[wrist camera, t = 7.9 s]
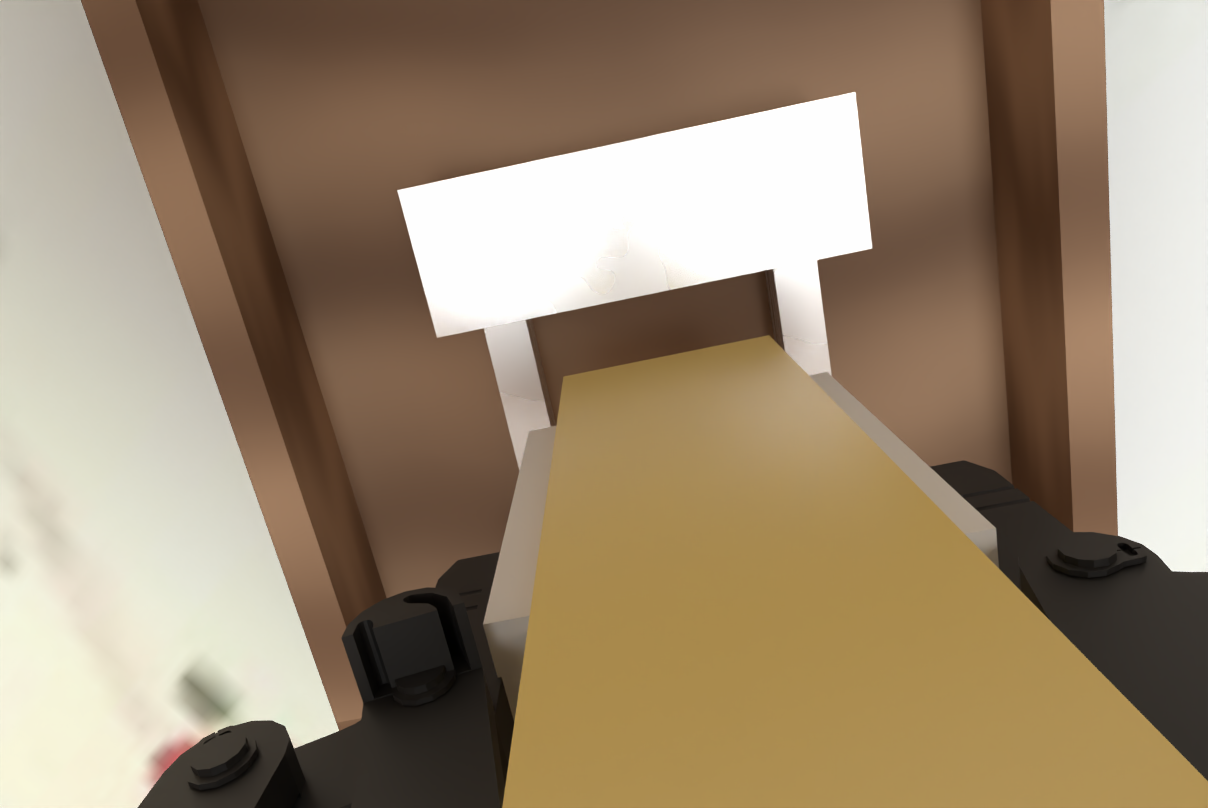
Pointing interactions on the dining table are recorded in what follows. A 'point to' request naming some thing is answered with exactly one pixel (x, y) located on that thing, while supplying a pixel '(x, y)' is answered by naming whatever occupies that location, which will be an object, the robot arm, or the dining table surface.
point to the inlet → (643, 234)
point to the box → (626, 327)
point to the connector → (789, 621)
